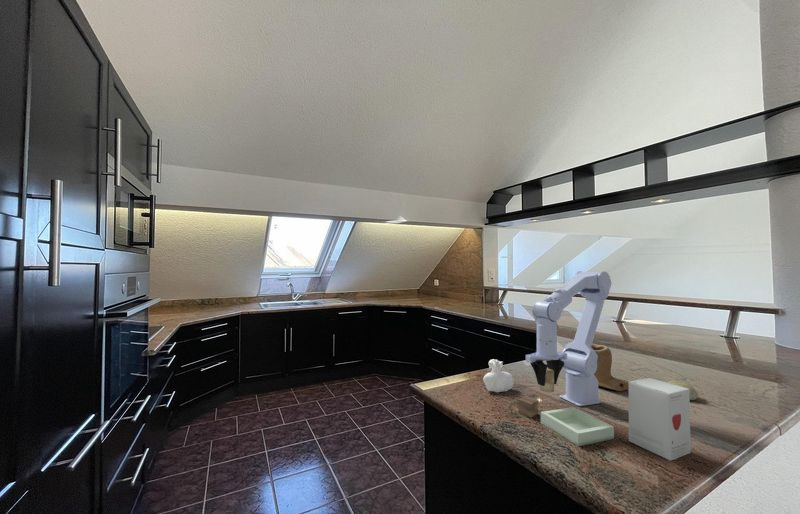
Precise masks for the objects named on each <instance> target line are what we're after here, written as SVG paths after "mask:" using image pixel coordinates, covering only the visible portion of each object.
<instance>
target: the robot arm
mask: <svg viewBox="0 0 800 514" xmlns="http://www.w3.org/2000/svg"><path fill="white" fill-rule="evenodd" d="M611 287H612V279H611V276H610V275H609V273H608V272H607V271H577V272H575V273H574V274H573V276H572V280H571V281H570V282H568V284H567V285H566V286H565V287H564V288H555V289H554V290H553V292H552V293H551V294H550V295H548V296H546V297H545V299H544V300H539V301H537V302H535V303H534V304H533V307H532V310H531V312H532V315H533V317H534V323H535V325H536V351H535V352H533V353H530V354H525V362H527V363H528V364H530V366H531V367H532V369H533V372H534V373H535V378H536V382H537V385H538V386H540V385H541V386H544V385H545V375H546V370H547V369H551V370H553V371H554V386H555V385H557V382H558V378H559V376H560V373H561V370H562V369H563V371H564V372H565V394H560V395H559V398H561V399H563V400H565V401H568V402H569V403H572V404H574V405H576V406H578V407H583V406H591V405H597V404H601V403H602V402H601V400H599V386H598V380H597V378H596V377H595V375H594V373H595V372H596V370H597V358H598V355H597V354H596V352H595V351H594V350H593V349H592V348H591V346H592V345H593V342H594V338H595V335H596V331H597V329H598V328H597V327H598V325H599V321H600V318H601V315H602V314H601V313H602V311H603V307H604V305H605V300H606V299H607V298H609V297H608V296H609V294H610V291H611ZM577 294H580V296H581V297H583V298H585V302H584V307H583V310H582V312H581V316H580V320H579V323H578V325H577V329H576V333H575V334H574V335H575V336H574V338H573V339H574V340H573V341H572V342H571V341H570V342H569V343H567V344H565V345H564V348H563V350H562V351H558V330H557V329H558V328H557V327H558V323H557V322H558V320H560V319H561V316H562V313H563V311H564V309H565V308H567V307H569V305H570V304H571V303H572V302H573V297H574V296H575V295H577ZM544 362H546V363H544Z"/></svg>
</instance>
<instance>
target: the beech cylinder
mask: <svg viewBox="0 0 800 514" xmlns="http://www.w3.org/2000/svg"><path fill="white" fill-rule="evenodd" d="M539 390H540V391H542V392H543V393H544V392H545V393H554V392H555V385H554V371H553V370H551V369H548V368H547V370H546V375H545V385H544V386H541V385H539Z"/></svg>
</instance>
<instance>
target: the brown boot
mask: <svg viewBox="0 0 800 514" xmlns="http://www.w3.org/2000/svg"><path fill="white" fill-rule="evenodd" d="M591 348H592V349H593V350H594V351H595V352H596V354H597V355H598V358H597V370H596V372H595V373H594V375H595V377H596V378H597V380H598V387H602V388H606V389H609V390H613V391H617V392H625V391H628V390H629V383H628V382H629V381H624V380H622V379H618V378H615V377H613V376H612V373H611V370H612V364H613V353H612V351H611V349H610V348H609V347H608V346H606V345H604V344H603V345H602V344H600V345H596V344H592V346H591Z"/></svg>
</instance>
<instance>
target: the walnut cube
mask: <svg viewBox="0 0 800 514" xmlns="http://www.w3.org/2000/svg"><path fill="white" fill-rule="evenodd" d="M517 400H518V402H517V403H518V404H517V406H518V409H517V411H518V414H520V415H522V416H526V417H529V418H530V419H531V418H534V417H535V416H537V415H539V400H537V399H534V398H532V397H529V396H526V395H525V396H522V397H520V398H518V399H517Z"/></svg>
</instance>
